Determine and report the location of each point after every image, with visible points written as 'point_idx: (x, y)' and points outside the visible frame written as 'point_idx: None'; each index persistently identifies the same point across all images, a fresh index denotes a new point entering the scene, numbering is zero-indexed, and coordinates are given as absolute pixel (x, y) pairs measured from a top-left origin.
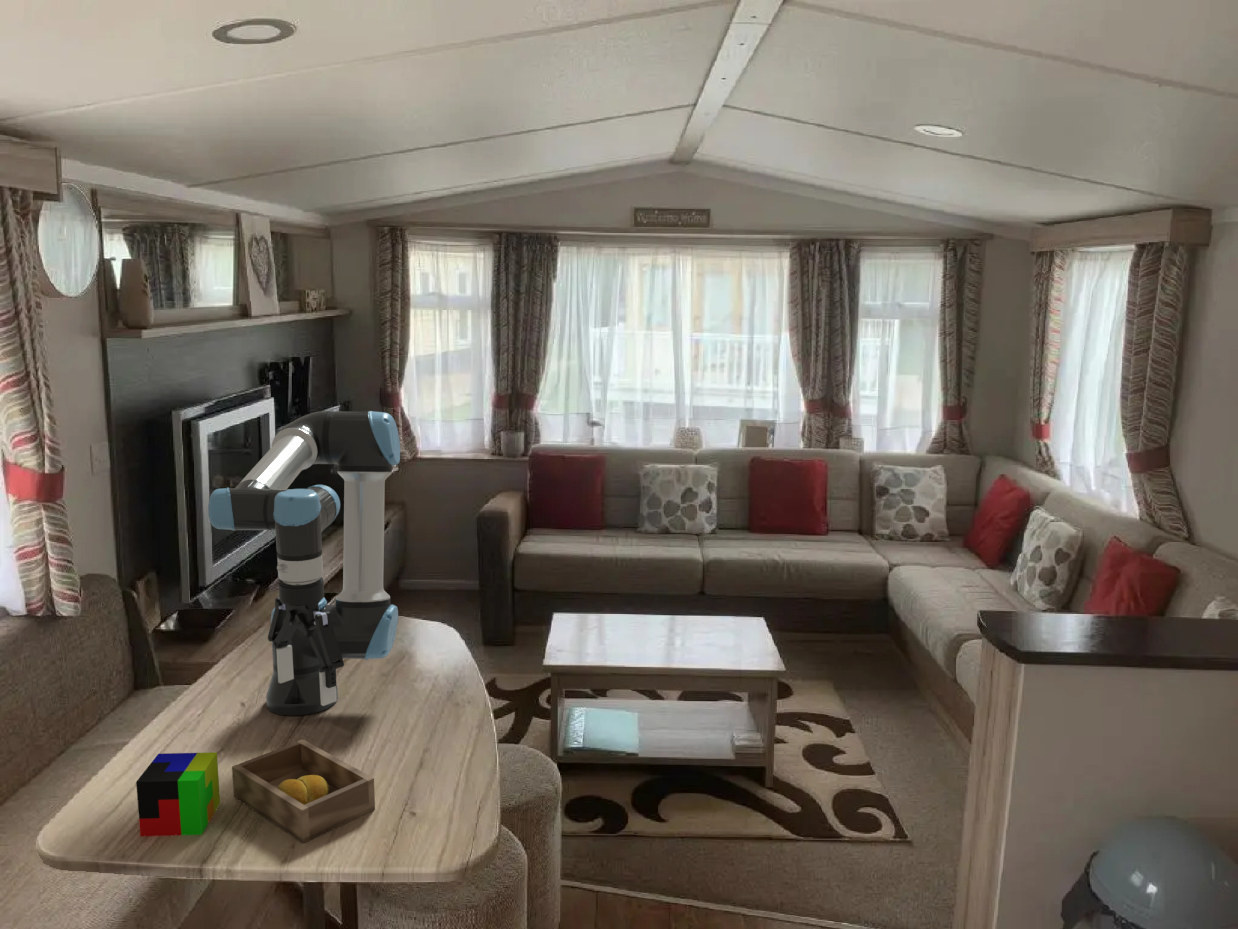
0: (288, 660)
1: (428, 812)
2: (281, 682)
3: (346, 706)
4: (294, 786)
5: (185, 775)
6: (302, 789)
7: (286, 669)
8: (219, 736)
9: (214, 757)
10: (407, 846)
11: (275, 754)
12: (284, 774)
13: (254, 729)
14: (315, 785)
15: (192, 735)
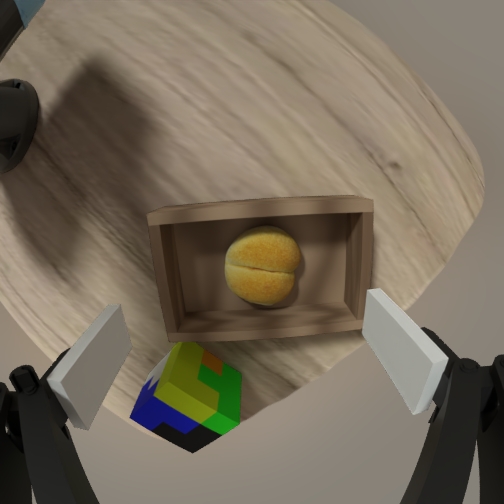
0: (93, 360)
1: (405, 150)
2: (130, 345)
3: (48, 77)
4: (274, 291)
5: (213, 427)
6: (283, 280)
7: (111, 350)
8: (26, 252)
9: (179, 387)
10: (438, 220)
11: (167, 275)
12: (175, 248)
13: (29, 208)
14: (289, 261)
15: (15, 273)
